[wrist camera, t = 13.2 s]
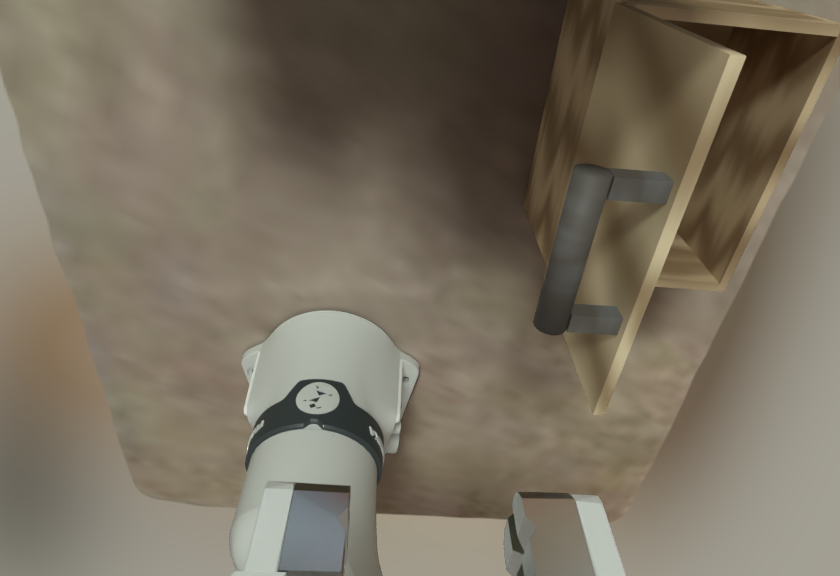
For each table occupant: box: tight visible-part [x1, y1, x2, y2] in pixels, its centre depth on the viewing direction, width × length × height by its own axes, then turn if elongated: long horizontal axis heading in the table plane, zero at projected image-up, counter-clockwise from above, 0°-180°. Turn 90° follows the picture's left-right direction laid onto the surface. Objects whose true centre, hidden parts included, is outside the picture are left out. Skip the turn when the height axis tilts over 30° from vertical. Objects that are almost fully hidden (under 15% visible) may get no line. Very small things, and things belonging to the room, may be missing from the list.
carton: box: [523, 0, 840, 291], centre depth 41 cm, size 18×13×12 cm
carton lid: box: [533, 2, 746, 415], centre depth 30 cm, size 18×13×5 cm
